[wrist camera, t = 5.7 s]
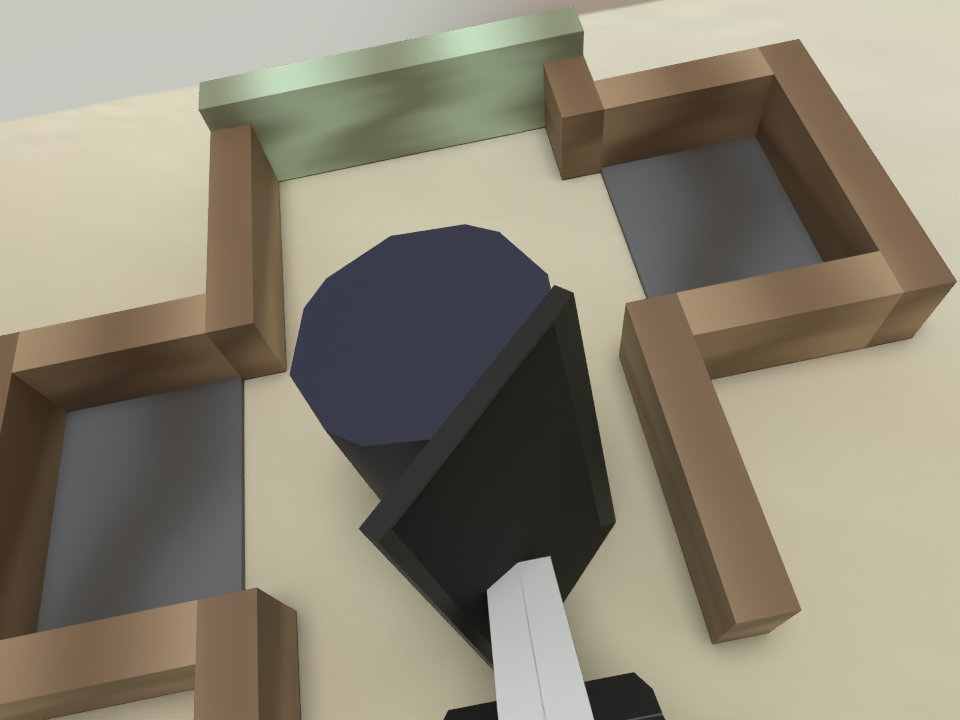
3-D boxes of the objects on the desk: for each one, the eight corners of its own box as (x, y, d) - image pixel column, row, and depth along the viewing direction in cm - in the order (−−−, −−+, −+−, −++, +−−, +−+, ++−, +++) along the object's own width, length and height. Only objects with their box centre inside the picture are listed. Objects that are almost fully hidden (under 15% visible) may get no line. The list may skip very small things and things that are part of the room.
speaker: (677, 559, 20) (695, 352, 11) (505, 688, 19) (382, 571, 10) (522, 377, 24) (449, 127, 15) (375, 476, 23) (212, 267, 14)
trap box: (-36, 797, 19) (-172, 803, 15) (65, 199, 30) (-1, 123, 26) (1050, 574, 19) (1159, 530, 15) (749, 58, 30) (774, -36, 26)
